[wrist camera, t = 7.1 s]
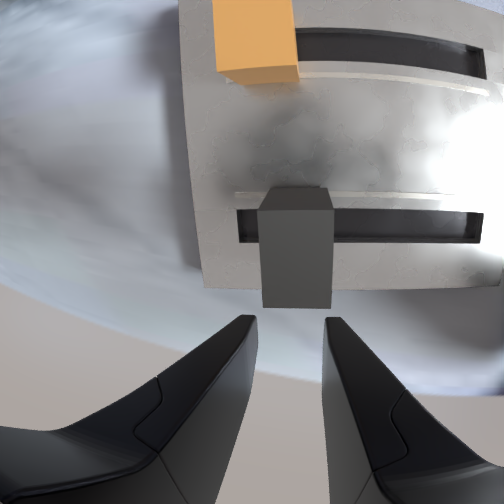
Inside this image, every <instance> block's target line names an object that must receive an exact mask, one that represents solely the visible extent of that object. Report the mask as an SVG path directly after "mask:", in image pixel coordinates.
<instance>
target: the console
mask: <svg viewBox="0 0 504 504" xmlns="http://www.w3.org/2000/svg"><path fill="white" fill-rule="evenodd" d="M292 6H293V14H294V24H295V34H296V44H297V56H298V67H299V80H300V82H281V83H264V84H251V85H239V84H238V83H236V82H234V81H232V80H231V79H229V78H227V77H225V76H224V75H222V74H220V73H218V72H217V68H216V53H215V38H214V21H213V3H212V0H178V7H179V35H180V56H181V73H182V88H183V102H184V115H185V127H186V138H187V149H188V159H189V169H190V179H191V188H192V197H193V205H194V214H195V222H196V230H197V238H198V245H199V253H200V260H201V267H202V274H203V281H204V288H229V289H262V283H261V267H260V251H259V235H258V219H257V210H258V208H259V206H260V205H261V203H262V201H263V200H264V198H265V196H266V195H267V193H268V191H269V189H270V188H328V192H329V195H330V198H331V201H332V204H333V208H334V250H333V277H332V290H388V289H432V288H461V287H484V286H499V284H500V280H501V276H502V272H503V268H504V15H502V14H499V13H496V12H493V11H490V10H487V9H484V8H481V7H478V6H475V5H472V4H468V3H465V2H461V1H457V0H292Z"/></svg>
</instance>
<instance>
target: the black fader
mask: <svg viewBox="0 0 504 504" xmlns="http://www.w3.org/2000/svg"><path fill="white" fill-rule="evenodd" d="M257 219H258V235H259V251H260V267H261V283H262V300H263V308H311V309H331V296H332V277H333V250H334V208H333V204H332V201H331V198H330V195H329V192H328V188H270V189H269V191H268V193H267V195H266V196H265V198H264V200H263V201H262V203H261V205H260V206H259V208H258V210H257Z"/></svg>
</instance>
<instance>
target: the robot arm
mask: <svg viewBox="0 0 504 504" xmlns="http://www.w3.org/2000/svg"><path fill="white" fill-rule="evenodd" d="M257 349H258V330H257V318H256V316H255V315H240V316H238V317H237V318H236V319H234V320H233V321H232V322H230V323H229V324H228V325H226V326H225V327H224V328H222V329H221V330H220V331H218V332H217V333H215V334H214V335H213V336H211V337H210V338H209V339H207V340H206V341H205V342H203V343H202V344H200V345H199V346H198V347H196V348H195V349H194V350H192V351H191V352H189V353H188V354H187V355H185V356H184V357H182V358H181V359H180V360H178V361H177V362H175V363H174V364H173V365H171V366H170V367H169V368H167V369H165V370H164V371H163V372H161V373H160V374H158V375H157V377H154V378H152V379H151V380H149V381H148V382H147V383H145V384H144V385H143V386H141V387H139V388H138V389H136V390H135V391H133V392H131V393H130V394H128V395H126V396H125V397H123V398H121V399H119V400H118V401H116V402H114V403H112V404H111V405H109V406H107V407H105V408H103V409H101V410H99V411H97V412H95V413H93V414H91V415H89V416H87V417H86V418H83V419H81V420H80V421H78V422H75V423H73V424H71V425H69V426H67V427H64V428H61V429H57V430H51V431H38V430H28V429H20V428H12V427H4V426H0V504H215V502H216V499H217V496H218V493H219V490H220V487H221V484H222V481H223V478H224V475H225V472H226V469H227V466H228V463H229V460H230V457H231V454H232V451H233V448H234V445H235V442H236V439H237V435H238V433H239V430H240V426H241V423H242V420H243V417H244V413H245V410H246V407H247V404H248V401H249V397H250V393H251V388H252V382H253V376H254V369H255V363H256V356H257ZM322 406H323V416H324V426H325V438H326V450H327V462H328V476H329V493H330V504H504V467H501V466H497V465H494V464H492V463H490V462H488V461H486V460H484V459H483V458H481V457H480V456H479V455H477V454H476V453H475V452H474V451H473V450H472V449H470V448H469V447H468V446H467V445H466V444H465V443H463V442H462V441H461V440H460V439H459V438H457V437H456V436H455V435H454V434H453V433H452V432H451V431H449V430H448V429H447V428H446V427H445V426H443V424H441V423H440V422H439V421H438V420H437V419H436V418H435V417H434V416H433V415H432V414H431V413H429V412H428V411H427V410H426V409H425V408H424V406H423V405H421V403H419V401H418V400H417V399H416V398H415V397H414V396H413V395H412V394H411V393H410V392H409V390H407V389H406V387H405V386H404V385H403V384H402V383H401V382H400V381H399V380H398V379H397V377H396V376H395V375H394V374H393V373H392V372H391V371H390V370H389V369H388V368H387V367H386V365H385V364H384V363H383V362H382V361H381V360H380V359H379V358H378V357H377V356H376V355H375V353H374V352H373V351H372V350H371V349H370V348H369V347H368V346H367V345H366V344H365V343H364V342H363V341H362V339H361V338H360V337H359V336H358V335H357V334H356V333H355V332H354V331H353V330H352V329H351V328H350V327H349V325H348V324H347V323H346V322H345V321H344V320H343V319H342V318H341V317H327V318H326V319H325V325H324V338H323V365H322Z"/></svg>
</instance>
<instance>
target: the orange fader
mask: <svg viewBox="0 0 504 504" xmlns="http://www.w3.org/2000/svg"><path fill="white" fill-rule="evenodd" d="M212 3H213V21H214V38H215V53H216V68H217V72H218V73H220V74H222V75H224V76H225V77H227V78H229V79H231V80H232V81H234V82H236V83H238V84H239V85H251V84H264V83H281V82H300V80H299V67H298V56H297V44H296V34H295V24H294V14H293V6H292V0H212Z"/></svg>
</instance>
